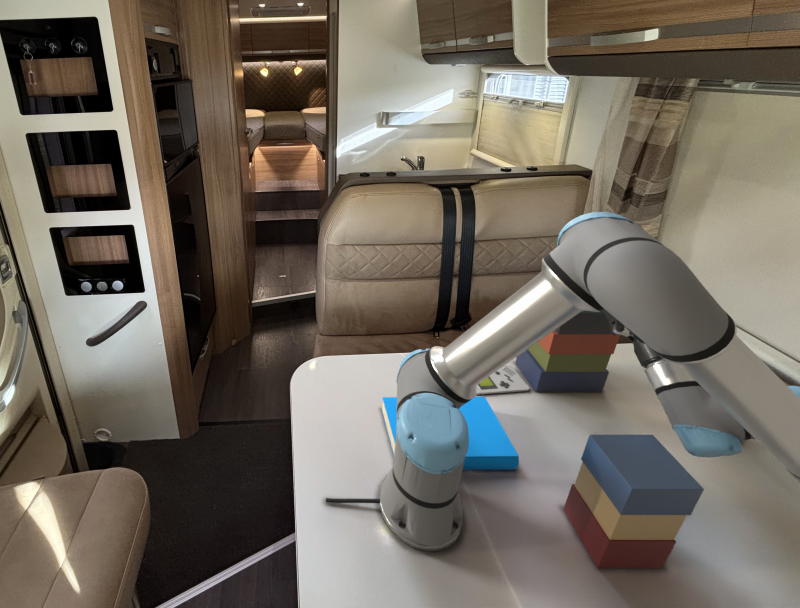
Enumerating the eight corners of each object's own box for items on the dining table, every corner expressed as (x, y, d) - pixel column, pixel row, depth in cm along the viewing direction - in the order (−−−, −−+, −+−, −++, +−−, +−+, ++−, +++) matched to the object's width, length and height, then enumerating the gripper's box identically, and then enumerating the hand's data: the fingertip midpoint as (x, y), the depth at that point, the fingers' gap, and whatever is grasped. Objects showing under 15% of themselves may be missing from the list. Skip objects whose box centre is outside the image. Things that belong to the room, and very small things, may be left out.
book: (381, 397, 103) (484, 394, 103) (380, 410, 104) (481, 407, 105) (399, 460, 87) (521, 456, 87) (398, 474, 89) (517, 471, 89)
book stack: (602, 391, 109) (637, 291, 98) (535, 392, 109) (563, 291, 98) (575, 362, 119) (605, 268, 108) (515, 362, 120) (538, 268, 108)
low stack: (597, 568, 72) (632, 489, 65) (562, 509, 81) (589, 434, 74) (662, 568, 72) (704, 489, 65) (620, 509, 81) (652, 434, 74)
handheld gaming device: (530, 388, 109) (475, 392, 108) (530, 390, 110) (474, 394, 108) (511, 365, 117) (459, 368, 116) (510, 367, 118) (458, 370, 116)
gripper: (608, 371, 84) (561, 270, 98) (697, 371, 84) (637, 270, 98) (632, 357, 78) (579, 251, 92) (728, 357, 78) (660, 251, 92)
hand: (609, 261), depth 95 cm, fingers closed on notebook, 5 cm apart
